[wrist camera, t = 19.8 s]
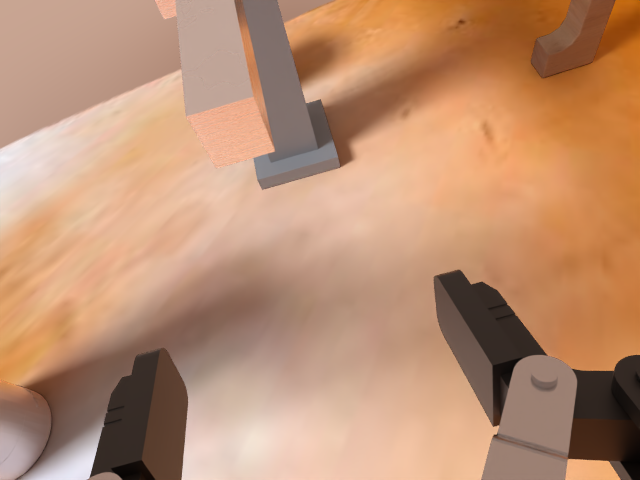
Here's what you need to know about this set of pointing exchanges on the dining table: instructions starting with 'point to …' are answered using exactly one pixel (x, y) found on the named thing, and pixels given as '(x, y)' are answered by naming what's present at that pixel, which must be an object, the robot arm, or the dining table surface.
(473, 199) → the dining table surface
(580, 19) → the l-shaped bracket
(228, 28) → the block
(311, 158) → the stand
